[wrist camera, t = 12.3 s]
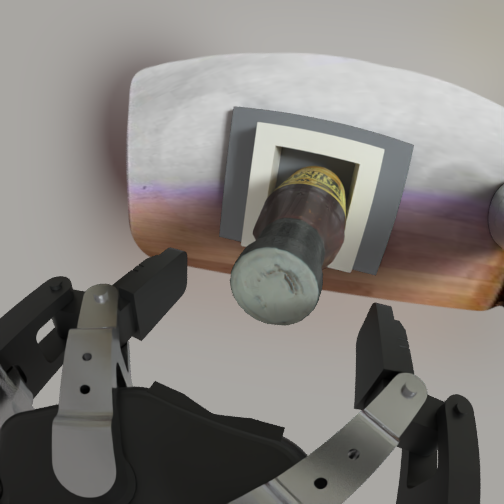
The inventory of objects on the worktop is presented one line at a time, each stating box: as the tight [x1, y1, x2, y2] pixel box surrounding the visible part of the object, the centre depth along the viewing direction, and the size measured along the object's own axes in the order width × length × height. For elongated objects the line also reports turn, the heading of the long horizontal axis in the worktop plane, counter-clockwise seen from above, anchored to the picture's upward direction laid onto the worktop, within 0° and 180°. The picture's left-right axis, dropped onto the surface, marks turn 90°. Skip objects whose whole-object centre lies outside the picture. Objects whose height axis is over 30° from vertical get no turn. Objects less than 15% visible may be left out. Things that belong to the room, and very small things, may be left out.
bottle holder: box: [219, 107, 414, 275], centre depth 28 cm, size 20×16×6 cm
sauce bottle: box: [230, 166, 346, 325], centre depth 20 cm, size 6×6×20 cm
